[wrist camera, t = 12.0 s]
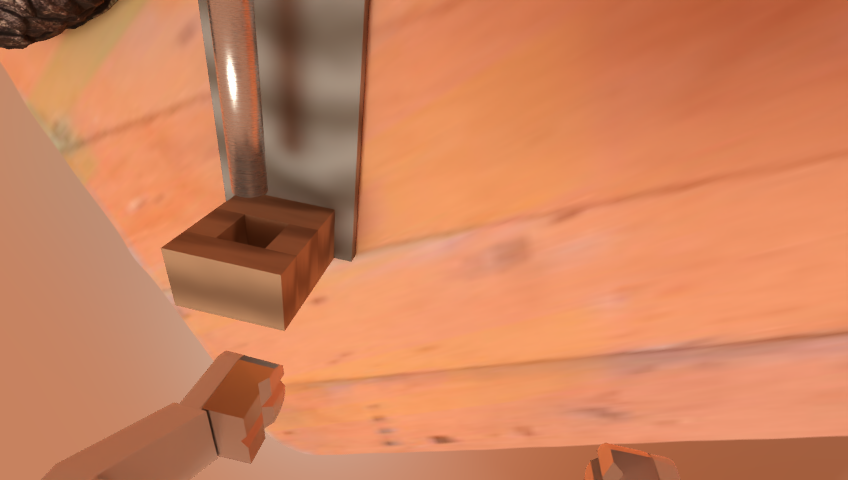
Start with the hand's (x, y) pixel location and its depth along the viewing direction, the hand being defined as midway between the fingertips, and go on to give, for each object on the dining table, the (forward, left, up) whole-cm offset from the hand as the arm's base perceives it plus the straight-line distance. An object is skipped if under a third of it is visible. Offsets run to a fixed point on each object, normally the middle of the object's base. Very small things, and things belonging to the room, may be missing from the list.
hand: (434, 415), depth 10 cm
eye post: (+1, -18, -29) cm, 34 cm away
